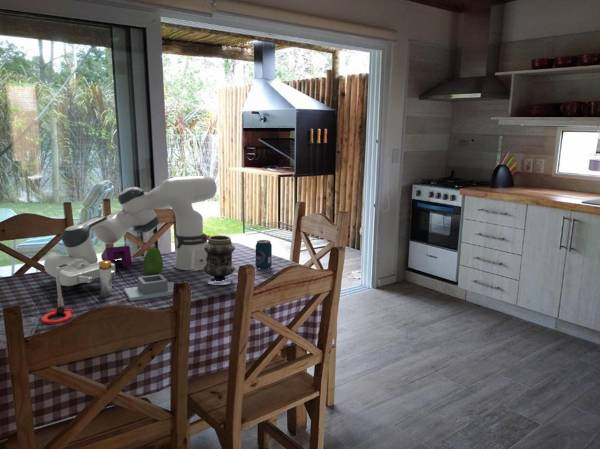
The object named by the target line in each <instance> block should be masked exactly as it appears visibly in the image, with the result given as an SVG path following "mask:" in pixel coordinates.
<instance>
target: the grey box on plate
mask: <svg viewBox="0 0 600 449" xmlns="http://www.w3.org/2000/svg"><path fill="white" fill-rule="evenodd" d="M174 283H175V282H174V281H172V282H171V281H170V282H169V281H168V279H167V278H166V277H165V276H164V275H162V274H161V273H160V274H159V275H151V276H147V275H145V276H138V277H137V286H133V287H126V288H123V292H124V294H125V295H126V297H127V298H128V300H129V301H130V302H133V301H139V300H140V301H141V300H146V299H154V298H160V297H166V296H173V295H172V294H173V285H174Z"/></svg>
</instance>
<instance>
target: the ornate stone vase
mask: <svg viewBox="0 0 600 449" xmlns="http://www.w3.org/2000/svg"><path fill="white" fill-rule="evenodd" d="M209 236H210V237H209V240H207V243H206V244H205V246H204V250H205V251H206V252H207V263H206V264H205V266H204V270H203V271H204V273H205V274H207V275H208V276H211V278H209V279H210V280H211V281H215V280H216V281H222V280H225V279H226V278H225V277H227V276H231V275H232V274H233V273H234V272H235V271H236V270H235V269H236V266H235V264H234V263H233V261H232V260H233V252H234V251H235V250H236V246H235V244H234V243H233V242H232V239H231V236H228V235H220V234H219V235H209Z"/></svg>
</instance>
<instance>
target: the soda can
mask: <svg viewBox="0 0 600 449" xmlns="http://www.w3.org/2000/svg"><path fill="white" fill-rule="evenodd" d="M272 246H273V245H272V243H271V240H269V239H259V240H257V241H256V244H255V263H254V264H255V267H257V268H260V269H268V268H270V267H272V264H273V263H272V260H273V259H272V251H273V249H272V248H273V247H272ZM257 268H256V269H257ZM270 269H271V268H270Z"/></svg>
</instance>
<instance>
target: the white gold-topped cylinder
mask: <svg viewBox="0 0 600 449" xmlns="http://www.w3.org/2000/svg"><path fill="white" fill-rule="evenodd" d="M99 269H100V278H99V283H100V296H101V297H110V296H112V295H113V280H112V278H113V276H112V275H111V261H103V260H101V261H99Z"/></svg>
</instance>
